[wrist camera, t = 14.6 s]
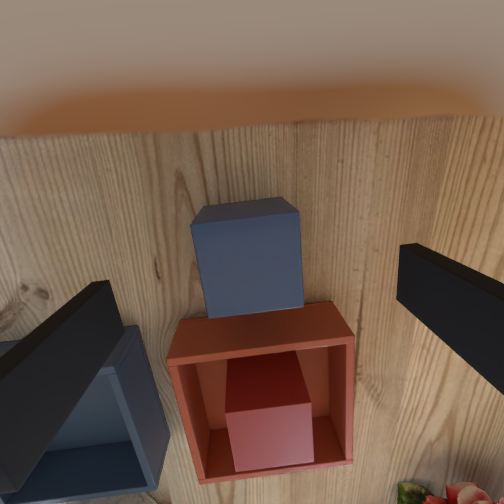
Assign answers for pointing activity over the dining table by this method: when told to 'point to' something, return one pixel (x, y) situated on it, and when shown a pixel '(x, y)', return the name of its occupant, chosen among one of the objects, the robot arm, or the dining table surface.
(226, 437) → the red bin
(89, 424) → the blue bin
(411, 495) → the flower vase
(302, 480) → the dining table surface
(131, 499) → the grey tin can
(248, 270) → the blue block
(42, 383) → the robot arm
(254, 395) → the red block
